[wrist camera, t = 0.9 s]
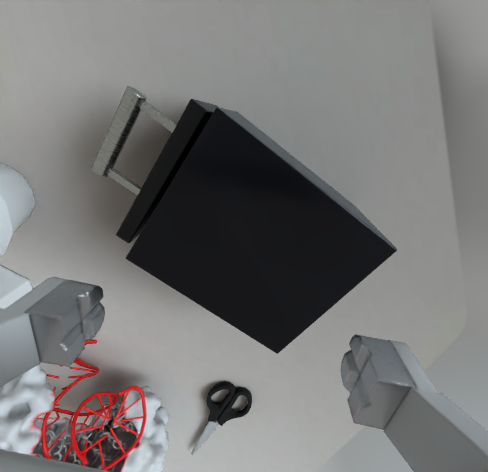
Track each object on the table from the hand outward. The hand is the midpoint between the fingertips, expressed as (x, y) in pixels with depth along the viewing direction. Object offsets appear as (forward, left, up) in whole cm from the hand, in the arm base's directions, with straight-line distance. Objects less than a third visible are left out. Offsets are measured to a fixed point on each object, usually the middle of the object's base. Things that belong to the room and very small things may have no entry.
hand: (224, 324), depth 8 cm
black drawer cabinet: (+2, +2, -20) cm, 20 cm away
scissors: (+35, +18, -20) cm, 44 cm away
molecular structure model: (+37, -1, -20) cm, 42 cm away
